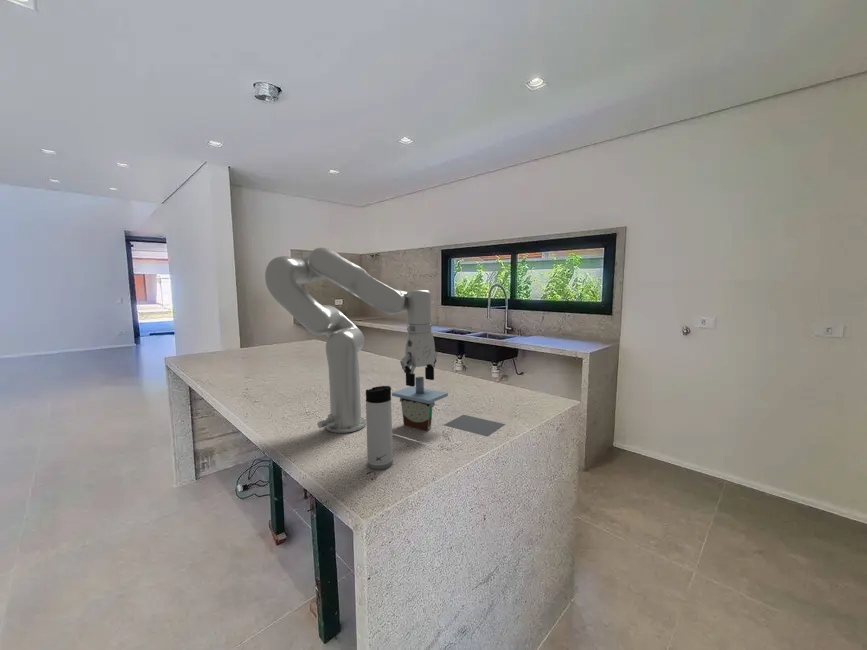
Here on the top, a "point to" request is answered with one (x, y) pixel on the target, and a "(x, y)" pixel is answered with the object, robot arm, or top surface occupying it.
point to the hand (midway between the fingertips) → (420, 382)
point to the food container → (417, 414)
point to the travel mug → (379, 427)
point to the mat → (475, 425)
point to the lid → (420, 393)
